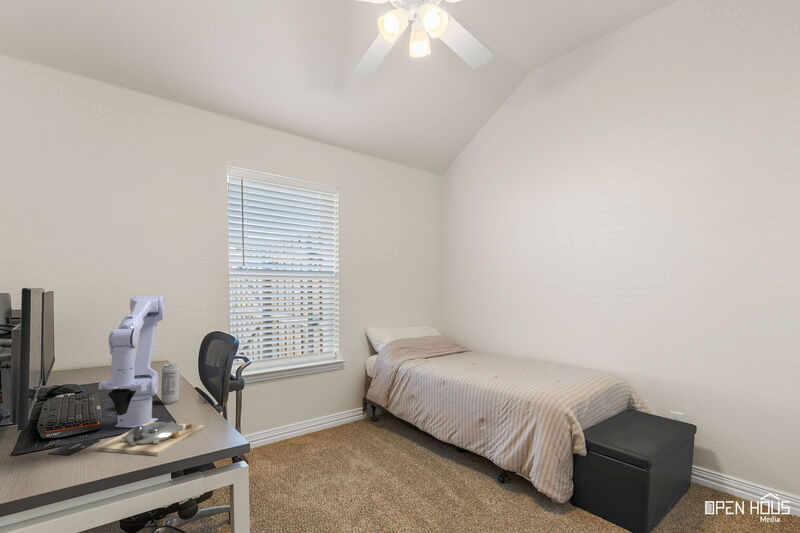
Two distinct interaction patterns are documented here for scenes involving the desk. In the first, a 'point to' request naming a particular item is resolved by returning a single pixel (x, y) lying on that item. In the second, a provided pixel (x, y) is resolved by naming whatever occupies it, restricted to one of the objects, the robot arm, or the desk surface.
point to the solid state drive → (73, 447)
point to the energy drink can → (170, 383)
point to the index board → (150, 448)
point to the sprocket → (152, 433)
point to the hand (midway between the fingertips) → (121, 414)
